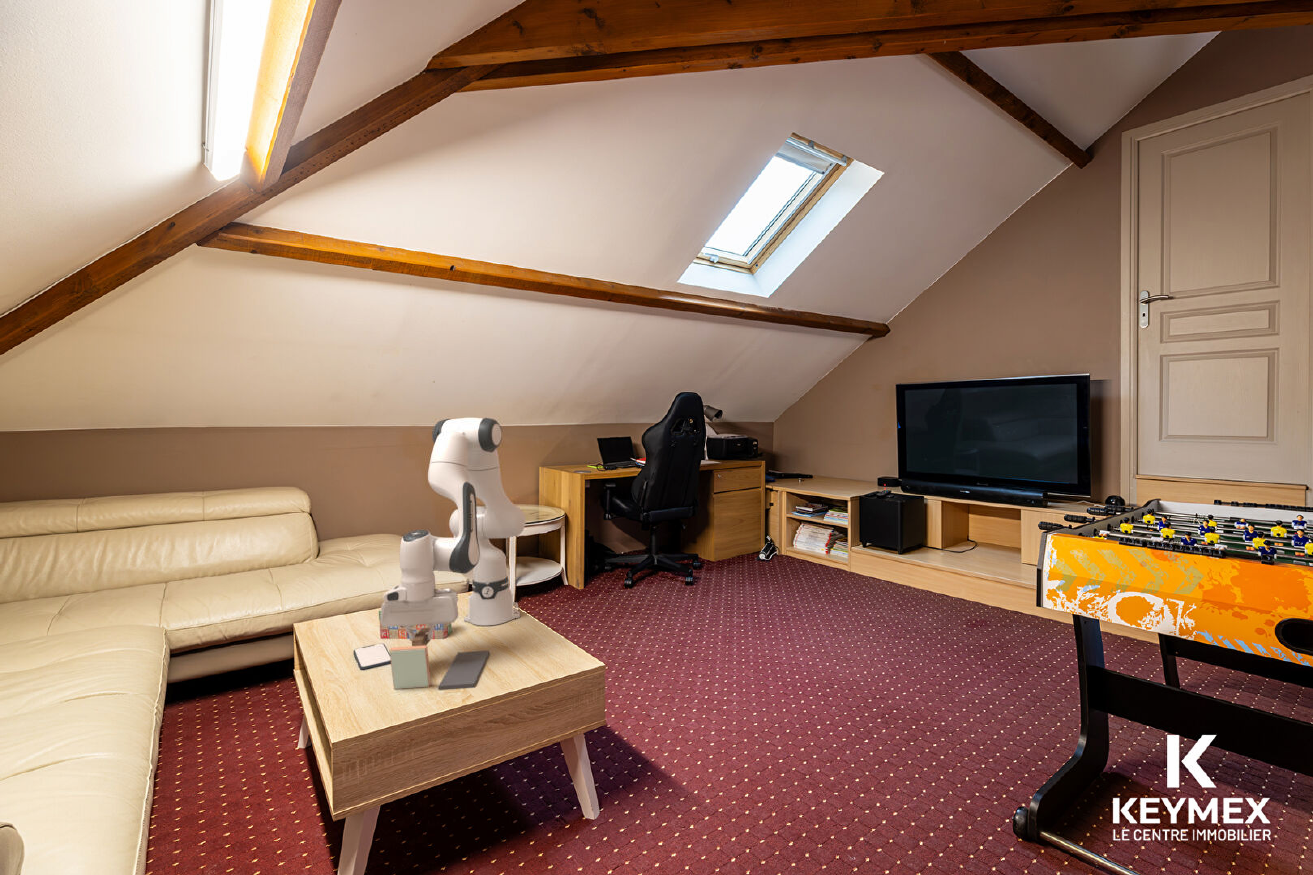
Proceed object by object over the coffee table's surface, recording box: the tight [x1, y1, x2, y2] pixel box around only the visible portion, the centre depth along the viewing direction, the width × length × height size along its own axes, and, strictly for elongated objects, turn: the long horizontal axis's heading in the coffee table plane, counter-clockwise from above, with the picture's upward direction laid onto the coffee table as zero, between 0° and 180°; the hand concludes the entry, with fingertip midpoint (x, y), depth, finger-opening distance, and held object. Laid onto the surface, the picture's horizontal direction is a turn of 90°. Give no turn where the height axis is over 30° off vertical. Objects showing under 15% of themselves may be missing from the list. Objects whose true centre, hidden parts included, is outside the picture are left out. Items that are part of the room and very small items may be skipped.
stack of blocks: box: [378, 609, 453, 640], centre depth 200 cm, size 21×6×12 cm, turn 84°
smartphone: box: [353, 643, 391, 671], centre depth 183 cm, size 9×2×16 cm
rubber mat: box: [438, 649, 490, 691], centre depth 172 cm, size 22×9×1 cm, turn 5°
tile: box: [389, 644, 432, 690], centre depth 162 cm, size 2×9×11 cm, turn 96°
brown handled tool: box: [411, 627, 431, 646], centre depth 170 cm, size 16×4×3 cm, turn 5°
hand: (421, 639), depth 172 cm, fingers closed on brown handled tool, 3 cm apart
